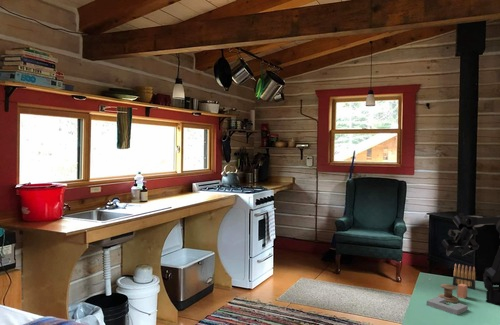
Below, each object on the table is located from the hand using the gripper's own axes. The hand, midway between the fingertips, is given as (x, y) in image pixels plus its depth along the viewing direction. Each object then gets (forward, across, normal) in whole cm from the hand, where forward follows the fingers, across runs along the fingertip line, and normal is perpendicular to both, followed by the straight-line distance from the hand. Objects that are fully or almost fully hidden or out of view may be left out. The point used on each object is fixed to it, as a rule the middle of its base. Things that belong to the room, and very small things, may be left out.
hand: (454, 255), depth 228 cm
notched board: (-6, +29, +38) cm, 48 cm away
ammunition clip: (+8, 0, +15) cm, 17 cm away
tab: (0, +12, +27) cm, 29 cm away
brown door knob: (-1, +21, +29) cm, 36 cm away
